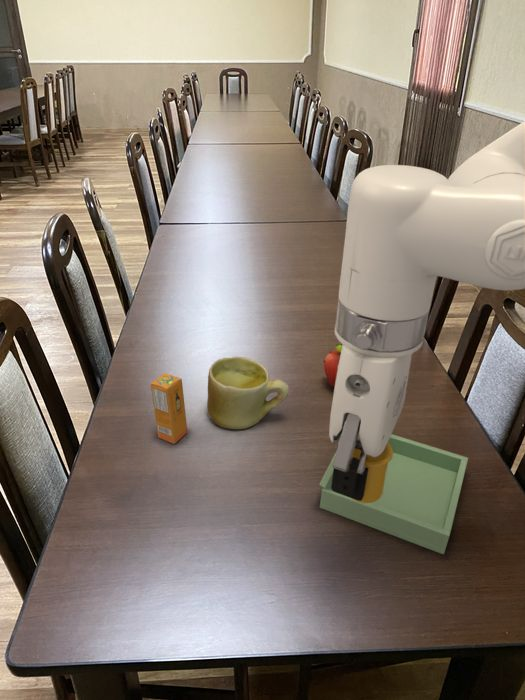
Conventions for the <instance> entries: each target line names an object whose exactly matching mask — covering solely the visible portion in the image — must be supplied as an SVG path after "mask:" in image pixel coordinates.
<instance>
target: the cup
mask: <svg viewBox="0 0 525 700" xmlns="http://www.w3.org/2000/svg"><path fill="white" fill-rule="evenodd" d="M358 438H359V436H358ZM360 454H361V450H359V449H356V448H354V452H353V456H352V457H355V458H357V459H359V458H360ZM392 456H393V449H392V447H391V445H390V444H389V443H388V442H387V445H386V447H385V449H384V451H383V452H382V453H381V454H380V455H379V456H377V457H372V456H370V455H368V458H367V462H366V468H369V469H368V475H367V480H366V486H365V492H364V496H363V499H362V500H361V501H358V500H355V499H353V500H355V501H358V502H362V503H372V502H375V501H377V500H379V499H380V498H381V496H382V494H383V490H384V484H385V478H386V472H387V466H388V462H389V461H390V460H391V459H392Z"/></svg>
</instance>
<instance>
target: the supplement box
mask: <svg viewBox="0 0 525 700" xmlns="http://www.w3.org/2000/svg"><path fill="white" fill-rule="evenodd" d="M150 390H151V395H152V396H151V397H152V403H153V410H154V418H155V424H156V429H157V436H158V438H159V439H161V440H163V441H165V442H167V443H170V444H173V445H175V444H177V443H178V442H179V441H180V440H181V439H182V438H183V437H184V436H185V435H186V434H188V423H187V415H186V414H187V413H186V407H185V397H184V395H185V394H184V387H183V379H182V378H181V377H178V376H175V375H173V374H172V375H171V374H168V373H162V374H161V375H160V376H159V377H158V378H156V379H155V380H154V381H151V383H150Z"/></svg>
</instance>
